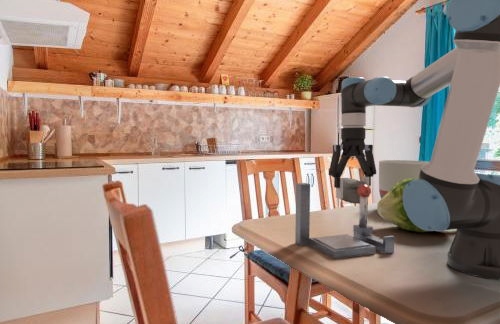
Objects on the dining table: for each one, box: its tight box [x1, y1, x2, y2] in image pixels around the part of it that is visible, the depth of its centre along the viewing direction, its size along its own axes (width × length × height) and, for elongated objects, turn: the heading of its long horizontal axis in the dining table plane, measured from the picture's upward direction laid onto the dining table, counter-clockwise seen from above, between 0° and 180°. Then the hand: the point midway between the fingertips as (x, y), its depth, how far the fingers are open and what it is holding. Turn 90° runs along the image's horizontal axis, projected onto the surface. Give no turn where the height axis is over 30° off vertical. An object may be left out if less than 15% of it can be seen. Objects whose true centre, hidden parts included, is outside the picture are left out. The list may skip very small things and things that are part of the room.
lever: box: [352, 184, 374, 235], centre depth 108 cm, size 4×4×15 cm
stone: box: [341, 177, 366, 204], centre depth 116 cm, size 9×9×10 cm
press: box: [294, 182, 395, 260], centre depth 102 cm, size 17×22×18 cm
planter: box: [378, 159, 429, 200], centre depth 155 cm, size 20×20×21 cm
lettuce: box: [376, 178, 429, 233], centre depth 121 cm, size 19×23×18 cm
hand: (352, 197), depth 115 cm, fingers closed on stone, 9 cm apart
